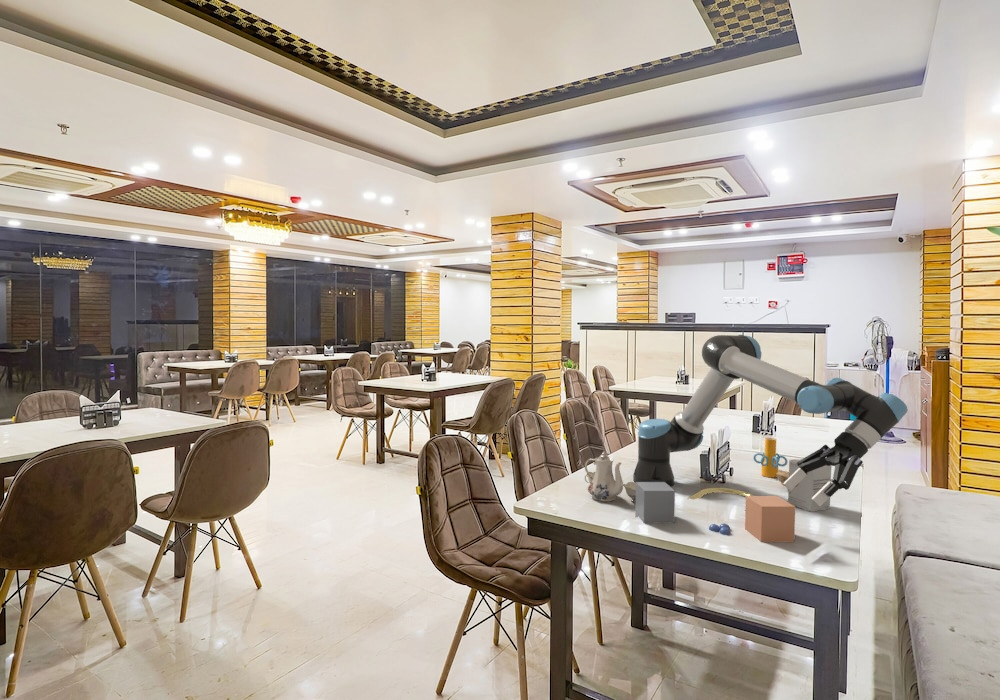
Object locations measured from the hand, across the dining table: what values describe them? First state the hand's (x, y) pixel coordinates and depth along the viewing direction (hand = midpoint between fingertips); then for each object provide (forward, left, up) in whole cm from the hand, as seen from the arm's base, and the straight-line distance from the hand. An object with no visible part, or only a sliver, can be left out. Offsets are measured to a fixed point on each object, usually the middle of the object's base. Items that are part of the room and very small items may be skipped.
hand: (800, 494), depth 147 cm
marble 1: (-17, -14, -11) cm, 25 cm away
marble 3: (-14, -14, -11) cm, 23 cm away
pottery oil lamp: (-21, +48, -13) cm, 54 cm away
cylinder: (-35, +62, -13) cm, 72 cm away
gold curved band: (-29, +12, -14) cm, 35 cm away
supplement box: (-10, +34, -13) cm, 38 cm away
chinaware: (-58, -10, -13) cm, 61 cm away
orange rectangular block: (-5, -6, -13) cm, 15 cm away
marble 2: (-15, -11, -11) cm, 22 cm away
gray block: (-33, -19, -13) cm, 41 cm away
